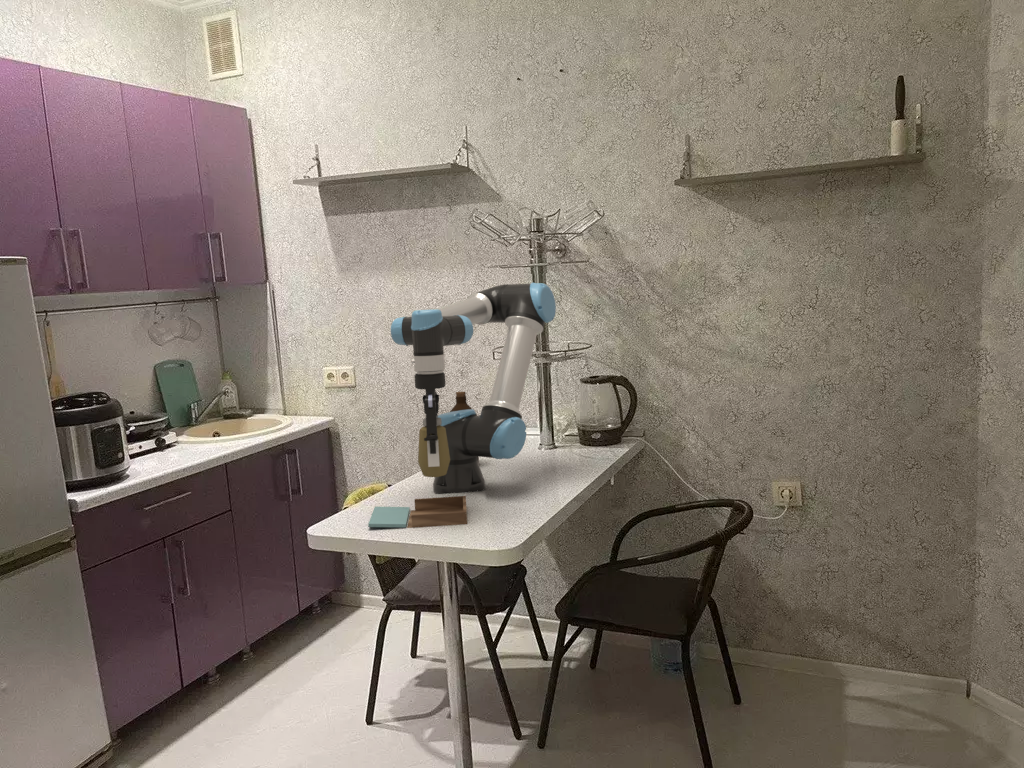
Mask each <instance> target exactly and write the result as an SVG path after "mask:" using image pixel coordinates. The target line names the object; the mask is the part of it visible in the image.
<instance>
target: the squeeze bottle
mask: <svg viewBox="0 0 1024 768" xmlns="http://www.w3.org/2000/svg"><path fill="white" fill-rule="evenodd" d="M436 416H437V415H436ZM441 424H442V421H441V418H439V417H437V435H438V439H437V440H438V446H439V465H440V466H436V467H428V450H427V441H424V438H426V436H427V429H426V417H425V418H423V419H422V425H423V426H422V427H421V428H420V429H419V433H418V450H417V451H418V452H417V453H418V454H417V455H418V456H417V463H418V466H419V469H420V471H421V473H422V476H423V477H427V478H435V477H440V476H444V475H446V474H447V470H448V466H449V463H450V454H449V448H448V441H447V435H446V428H445V427H443V426H441Z"/></svg>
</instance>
